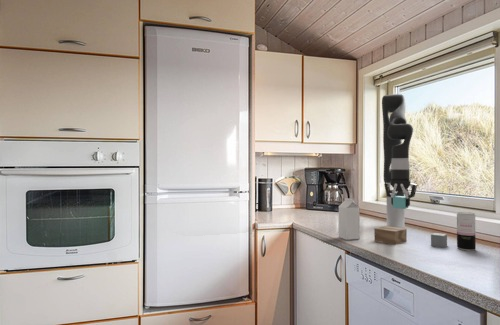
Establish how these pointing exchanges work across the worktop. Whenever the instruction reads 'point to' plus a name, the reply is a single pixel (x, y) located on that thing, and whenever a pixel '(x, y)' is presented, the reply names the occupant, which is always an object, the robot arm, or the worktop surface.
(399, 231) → the walnut base block
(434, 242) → the gray cube
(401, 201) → the teal cube
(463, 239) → the white and black canister
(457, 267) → the worktop surface
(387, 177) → the robot arm
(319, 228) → the worktop surface
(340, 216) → the milk carton
